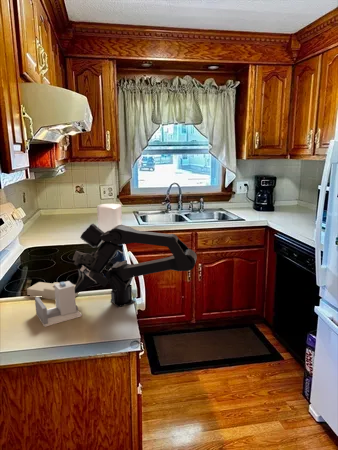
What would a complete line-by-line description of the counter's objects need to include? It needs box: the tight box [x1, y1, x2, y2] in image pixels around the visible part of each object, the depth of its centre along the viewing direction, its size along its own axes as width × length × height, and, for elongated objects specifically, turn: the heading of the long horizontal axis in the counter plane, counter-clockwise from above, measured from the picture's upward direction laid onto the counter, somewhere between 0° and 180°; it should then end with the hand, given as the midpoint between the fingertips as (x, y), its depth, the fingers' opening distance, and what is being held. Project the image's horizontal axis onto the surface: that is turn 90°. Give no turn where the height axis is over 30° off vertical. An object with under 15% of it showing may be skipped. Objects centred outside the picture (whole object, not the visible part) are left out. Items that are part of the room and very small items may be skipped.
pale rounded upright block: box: [96, 203, 123, 233], centre depth 208 cm, size 15×14×22 cm
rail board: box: [34, 297, 82, 327], centre depth 111 cm, size 12×10×6 cm
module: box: [54, 280, 77, 316], centre depth 112 cm, size 5×6×10 cm
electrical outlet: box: [26, 281, 80, 301], centre depth 127 cm, size 7×4×18 cm
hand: (74, 292), depth 114 cm, fingers closed
